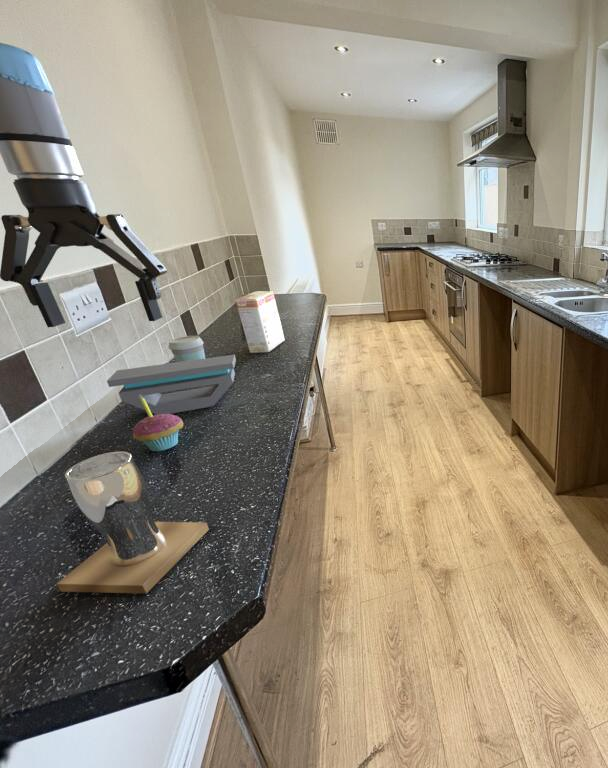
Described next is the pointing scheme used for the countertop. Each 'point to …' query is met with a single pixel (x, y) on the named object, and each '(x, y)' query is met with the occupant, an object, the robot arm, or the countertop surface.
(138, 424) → the cupcake
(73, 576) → the serving board
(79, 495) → the beer glass
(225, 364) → the grey tapered box
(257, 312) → the coffeecake box
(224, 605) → the countertop surface
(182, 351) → the coffee cup
